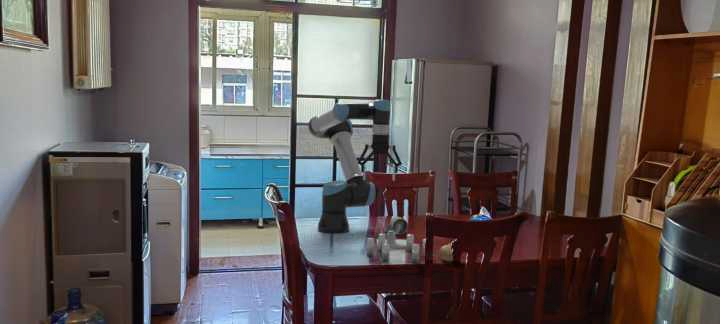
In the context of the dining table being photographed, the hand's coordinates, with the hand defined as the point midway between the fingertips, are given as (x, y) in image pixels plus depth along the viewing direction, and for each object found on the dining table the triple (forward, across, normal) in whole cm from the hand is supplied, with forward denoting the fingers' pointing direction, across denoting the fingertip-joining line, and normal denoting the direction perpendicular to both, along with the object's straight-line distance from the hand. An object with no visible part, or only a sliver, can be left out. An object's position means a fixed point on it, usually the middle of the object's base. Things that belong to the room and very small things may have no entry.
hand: (378, 180), depth 247 cm
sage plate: (+27, +6, -14) cm, 31 cm away
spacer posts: (+27, +6, -30) cm, 41 cm away
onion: (+27, +26, -35) cm, 51 cm away
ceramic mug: (+27, +10, +8) cm, 30 cm away
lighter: (+26, +6, -14) cm, 30 cm away
